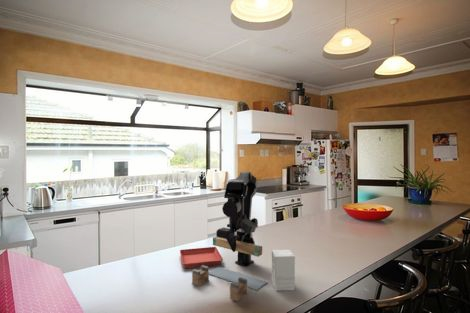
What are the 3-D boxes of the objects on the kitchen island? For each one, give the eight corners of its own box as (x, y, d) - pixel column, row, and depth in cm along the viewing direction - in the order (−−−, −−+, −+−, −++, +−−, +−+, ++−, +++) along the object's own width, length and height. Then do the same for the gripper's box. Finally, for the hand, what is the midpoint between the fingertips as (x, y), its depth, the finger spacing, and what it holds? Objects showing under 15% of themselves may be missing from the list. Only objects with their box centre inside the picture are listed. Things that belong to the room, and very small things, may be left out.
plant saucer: (181, 271, 116) (181, 263, 116) (179, 256, 134) (179, 249, 134) (223, 267, 121) (223, 259, 121) (215, 253, 138) (215, 246, 138)
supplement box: (290, 281, 107) (290, 249, 107) (295, 290, 99) (295, 256, 99) (271, 281, 106) (271, 249, 106) (274, 291, 99) (274, 256, 99)
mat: (219, 267, 119) (219, 266, 119) (267, 282, 105) (267, 281, 105) (206, 273, 113) (206, 272, 113) (256, 290, 99) (256, 289, 99)
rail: (217, 243, 117) (217, 235, 117) (262, 254, 104) (262, 246, 104) (212, 245, 114) (212, 237, 114) (258, 256, 102) (258, 248, 102)
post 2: (240, 291, 98) (240, 277, 98) (247, 294, 97) (247, 279, 97) (230, 298, 93) (230, 283, 93) (237, 301, 92) (237, 285, 92)
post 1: (202, 278, 109) (203, 265, 109) (208, 280, 107) (208, 267, 107) (192, 283, 104) (192, 270, 104) (198, 286, 102) (198, 272, 102)
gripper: (239, 218, 97) (239, 262, 97) (265, 210, 112) (265, 248, 112) (215, 214, 103) (215, 255, 103) (243, 207, 119) (242, 243, 119)
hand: (236, 250), depth 109 cm, fingers closed on rail, 3 cm apart
